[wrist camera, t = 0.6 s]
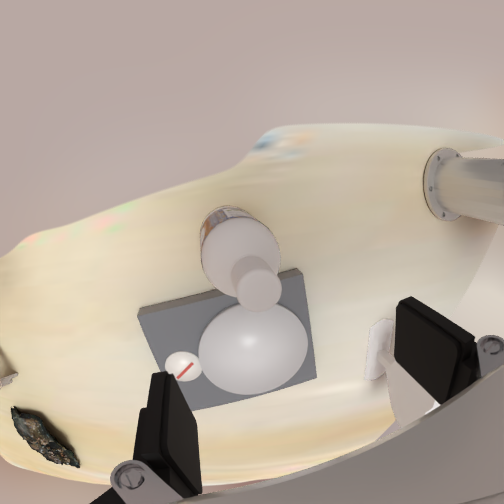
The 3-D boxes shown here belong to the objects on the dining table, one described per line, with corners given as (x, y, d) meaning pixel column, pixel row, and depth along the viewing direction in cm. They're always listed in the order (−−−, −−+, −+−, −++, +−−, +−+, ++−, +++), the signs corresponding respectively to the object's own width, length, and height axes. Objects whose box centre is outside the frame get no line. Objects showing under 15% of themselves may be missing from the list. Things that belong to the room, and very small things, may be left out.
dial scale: (296, 268, 40) (305, 277, 37) (311, 368, 45) (319, 382, 42) (140, 308, 38) (135, 320, 34) (181, 402, 43) (181, 418, 39)
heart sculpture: (384, 379, 50) (435, 436, 33) (362, 387, 49) (411, 450, 32) (394, 310, 46) (465, 363, 28) (370, 317, 45) (439, 377, 28)
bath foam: (198, 207, 36) (198, 240, 17) (254, 203, 37) (314, 233, 18) (201, 261, 38) (208, 345, 19) (255, 257, 39) (309, 332, 20)
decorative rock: (90, 478, 41) (39, 474, 37) (92, 458, 46) (43, 456, 43) (44, 426, 34) (-8, 422, 31) (51, 404, 40) (0, 403, 37)
